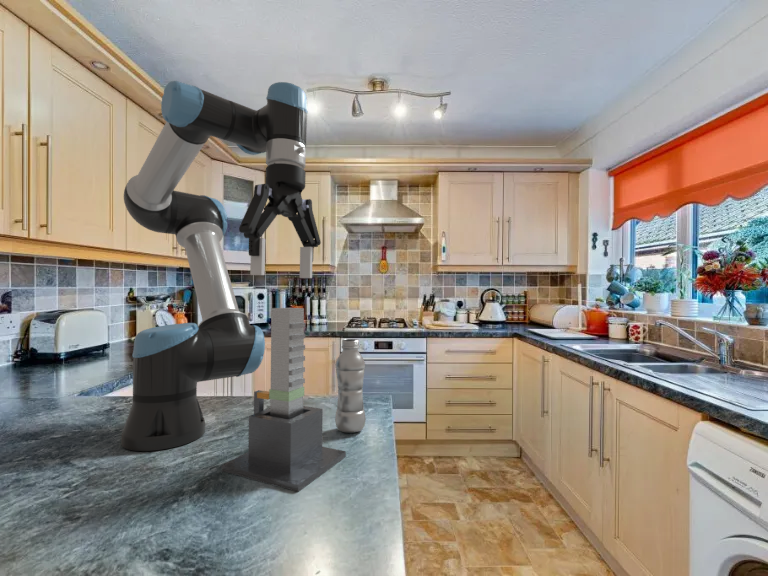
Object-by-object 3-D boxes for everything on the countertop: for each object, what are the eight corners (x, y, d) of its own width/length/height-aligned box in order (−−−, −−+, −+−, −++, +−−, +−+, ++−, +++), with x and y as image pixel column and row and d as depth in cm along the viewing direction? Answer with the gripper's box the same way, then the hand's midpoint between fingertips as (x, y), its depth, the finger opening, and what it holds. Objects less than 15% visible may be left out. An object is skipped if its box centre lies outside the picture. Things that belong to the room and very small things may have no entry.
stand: (221, 470, 64) (222, 399, 65) (277, 442, 77) (278, 382, 77) (298, 491, 58) (298, 412, 58) (345, 456, 70) (346, 391, 71)
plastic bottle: (361, 437, 80) (361, 342, 80) (330, 435, 81) (331, 341, 82) (368, 427, 86) (369, 338, 87) (340, 425, 88) (340, 338, 88)
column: (268, 422, 67) (270, 308, 67) (285, 415, 70) (286, 307, 71) (290, 426, 65) (291, 308, 65) (305, 419, 68) (306, 308, 69)
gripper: (251, 142, 61) (248, 273, 61) (337, 182, 84) (335, 279, 84) (219, 149, 65) (216, 273, 65) (310, 186, 87) (308, 278, 87)
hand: (283, 276), depth 74 cm, fingers open, 13 cm apart
